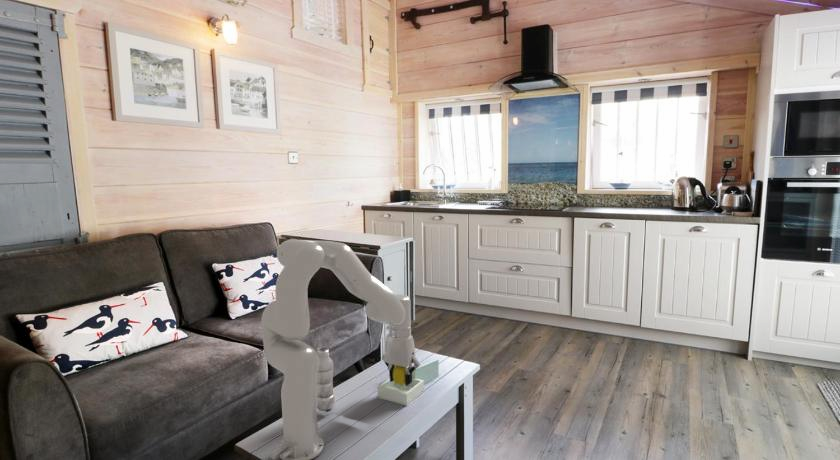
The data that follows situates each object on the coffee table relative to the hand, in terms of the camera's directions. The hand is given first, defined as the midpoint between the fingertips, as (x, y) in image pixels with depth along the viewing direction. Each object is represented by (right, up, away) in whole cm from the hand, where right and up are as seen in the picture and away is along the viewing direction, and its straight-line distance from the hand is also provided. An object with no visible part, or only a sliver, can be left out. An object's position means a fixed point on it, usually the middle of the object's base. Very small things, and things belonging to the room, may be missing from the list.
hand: (400, 381), depth 156 cm
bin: (0, -5, +1) cm, 5 cm away
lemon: (0, -2, 0) cm, 2 cm away
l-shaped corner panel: (+5, -4, +13) cm, 15 cm away
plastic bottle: (-24, -6, -8) cm, 26 cm away
